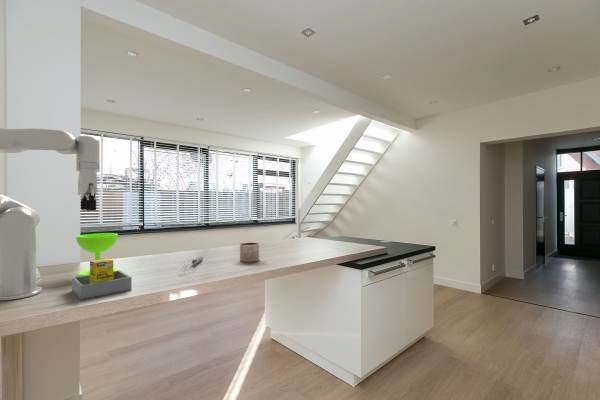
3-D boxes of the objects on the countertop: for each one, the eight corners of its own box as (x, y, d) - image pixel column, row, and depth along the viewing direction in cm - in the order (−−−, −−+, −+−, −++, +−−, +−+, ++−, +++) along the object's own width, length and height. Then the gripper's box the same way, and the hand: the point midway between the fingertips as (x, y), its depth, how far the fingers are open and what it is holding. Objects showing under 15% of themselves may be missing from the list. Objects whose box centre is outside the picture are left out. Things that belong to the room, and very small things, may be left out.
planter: (263, 259, 164) (263, 243, 164) (250, 263, 155) (250, 245, 155) (248, 257, 170) (248, 241, 170) (235, 261, 161) (235, 244, 161)
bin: (80, 300, 98) (80, 286, 98) (72, 290, 109) (72, 277, 109) (131, 290, 109) (131, 277, 109) (119, 282, 120) (119, 270, 120)
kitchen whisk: (207, 259, 166) (207, 248, 166) (192, 275, 133) (192, 261, 133) (196, 259, 166) (196, 249, 166) (178, 275, 132) (178, 262, 132)
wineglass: (109, 268, 145) (109, 232, 145) (124, 272, 136) (124, 234, 136) (70, 274, 132) (70, 235, 132) (83, 280, 123) (83, 238, 123)
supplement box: (95, 292, 104) (95, 262, 104) (89, 289, 108) (89, 260, 108) (113, 288, 109) (113, 259, 109) (107, 285, 113) (107, 258, 113)
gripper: (72, 168, 119) (72, 209, 119) (81, 164, 107) (81, 210, 107) (94, 169, 124) (94, 209, 124) (104, 166, 112) (104, 210, 113)
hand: (88, 210), depth 116 cm, fingers open, 9 cm apart
